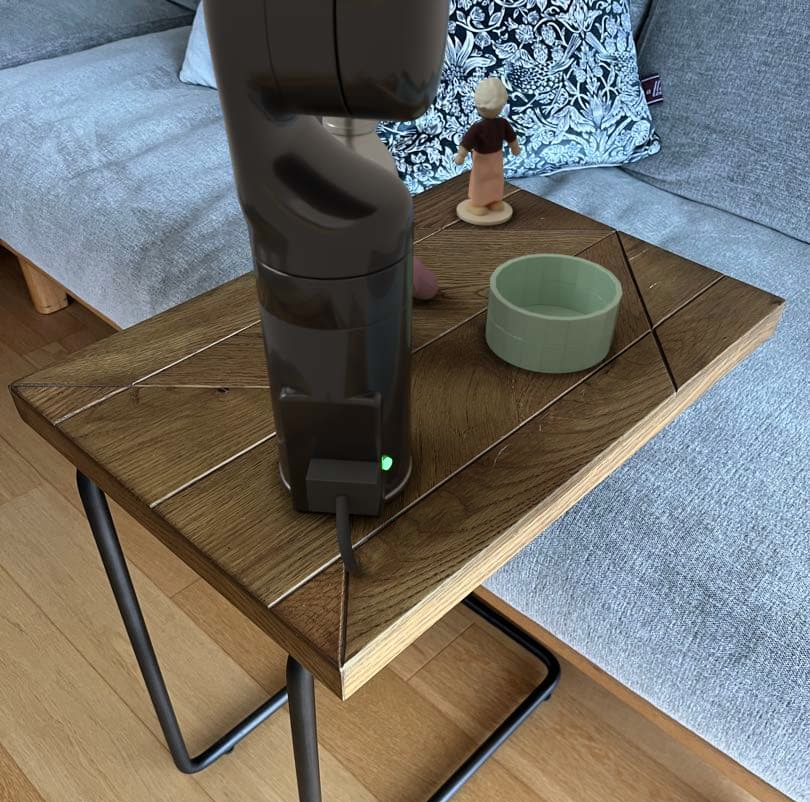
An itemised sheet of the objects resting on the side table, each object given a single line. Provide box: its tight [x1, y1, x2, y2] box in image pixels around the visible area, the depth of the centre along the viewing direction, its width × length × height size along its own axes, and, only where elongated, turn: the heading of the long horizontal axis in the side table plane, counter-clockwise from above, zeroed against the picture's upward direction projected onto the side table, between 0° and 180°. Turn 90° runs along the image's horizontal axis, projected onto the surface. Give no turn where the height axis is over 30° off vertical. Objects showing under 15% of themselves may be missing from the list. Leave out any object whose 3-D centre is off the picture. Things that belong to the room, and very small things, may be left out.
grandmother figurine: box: [454, 77, 522, 216], centre depth 83 cm, size 8×4×13 cm, turn 130°
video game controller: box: [413, 256, 439, 301], centre depth 73 cm, size 10×5×7 cm, turn 62°
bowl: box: [485, 253, 624, 374], centre depth 69 cm, size 11×11×5 cm
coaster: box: [456, 198, 514, 226], centre depth 87 cm, size 6×6×1 cm
